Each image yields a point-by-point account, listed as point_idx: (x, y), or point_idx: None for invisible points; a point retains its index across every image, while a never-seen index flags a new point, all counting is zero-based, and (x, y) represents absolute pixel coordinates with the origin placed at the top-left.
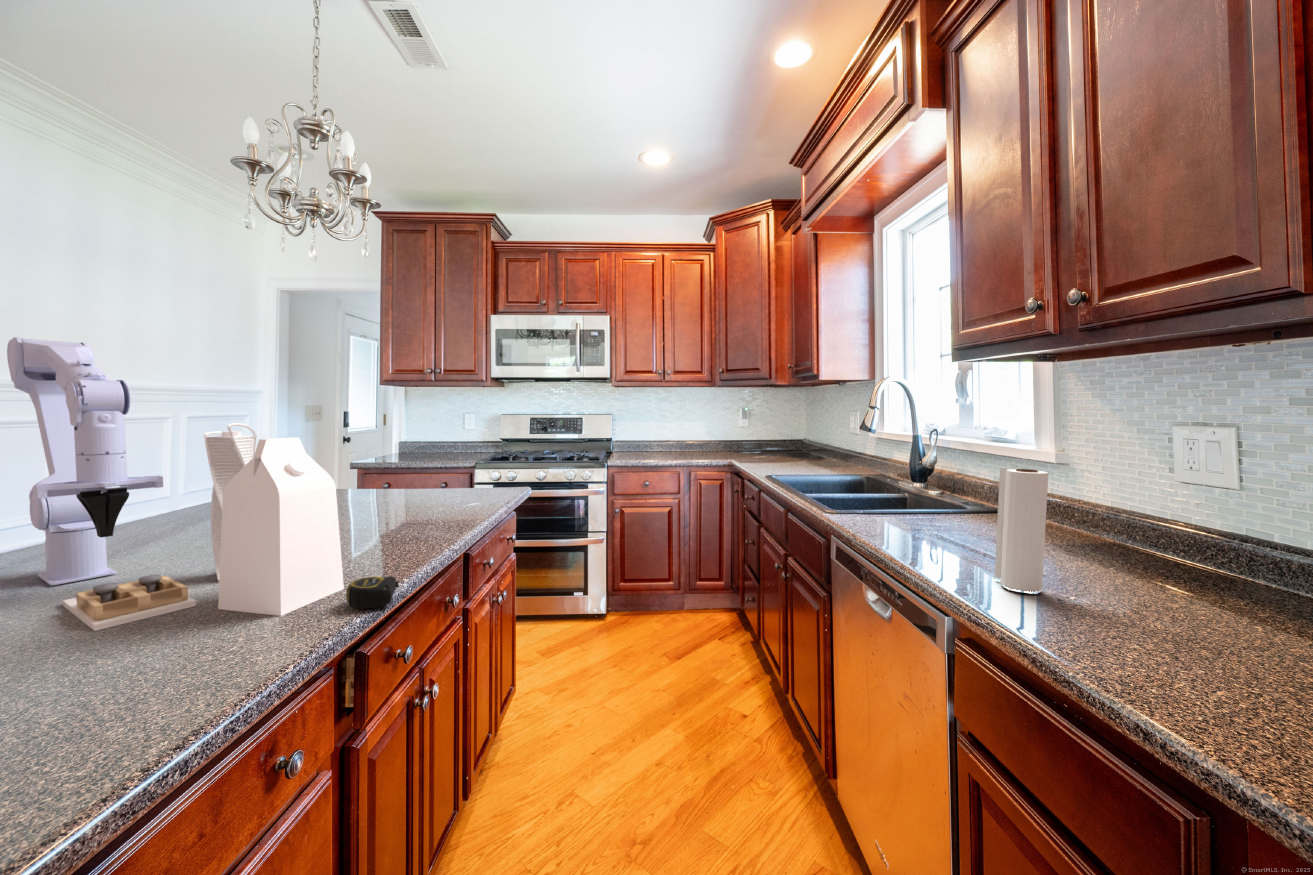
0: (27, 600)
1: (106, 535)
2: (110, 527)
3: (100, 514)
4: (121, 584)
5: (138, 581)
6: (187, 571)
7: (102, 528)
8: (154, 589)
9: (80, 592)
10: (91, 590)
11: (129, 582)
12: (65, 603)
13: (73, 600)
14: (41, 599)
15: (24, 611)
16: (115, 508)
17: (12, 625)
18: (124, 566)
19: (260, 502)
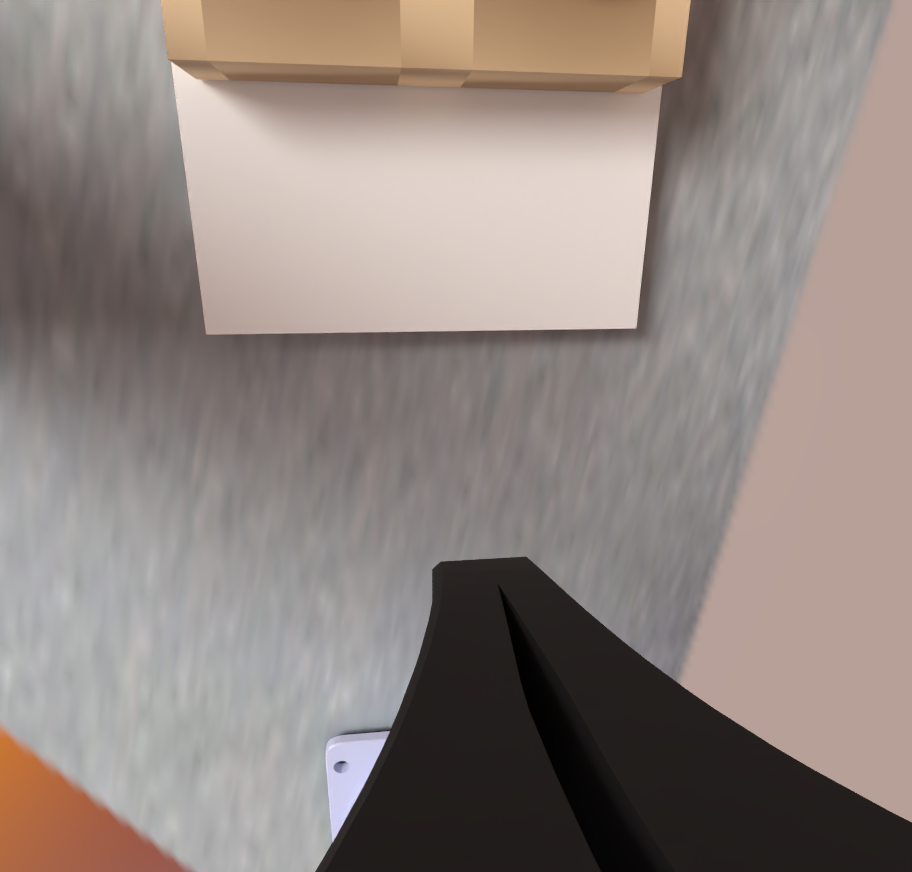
0: (672, 557)
1: (490, 566)
2: (473, 601)
3: (668, 735)
4: (447, 48)
5: (346, 31)
6: (25, 532)
7: (554, 595)
8: None
9: (664, 61)
10: (611, 53)
11: (396, 65)
12: (642, 254)
13: (608, 272)
14: (638, 528)
15: (739, 365)
16: (458, 826)
17: (849, 131)
18: (269, 857)
19: None
